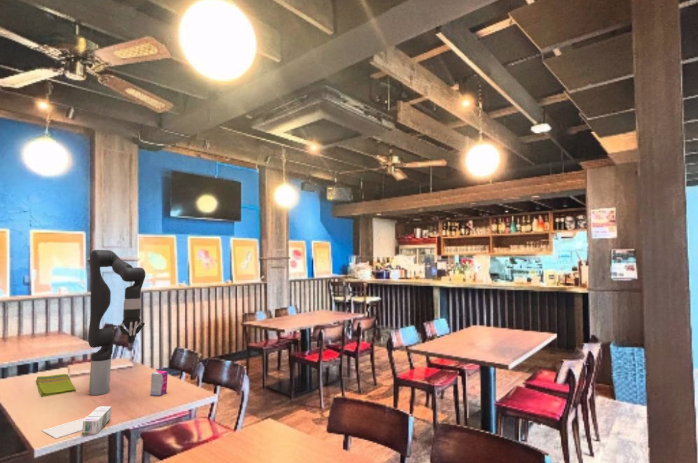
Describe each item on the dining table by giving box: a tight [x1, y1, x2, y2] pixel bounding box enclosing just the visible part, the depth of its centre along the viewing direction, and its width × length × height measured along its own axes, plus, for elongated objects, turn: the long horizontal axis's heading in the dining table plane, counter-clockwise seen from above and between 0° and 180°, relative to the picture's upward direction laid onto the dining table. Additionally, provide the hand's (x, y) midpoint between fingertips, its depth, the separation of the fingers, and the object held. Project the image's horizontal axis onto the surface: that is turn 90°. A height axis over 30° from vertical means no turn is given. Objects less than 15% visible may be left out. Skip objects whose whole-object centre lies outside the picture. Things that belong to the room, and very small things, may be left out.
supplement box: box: [149, 370, 169, 397], centre depth 212 cm, size 6×6×12 cm
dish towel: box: [35, 373, 77, 398], centre depth 225 cm, size 15×36×3 cm, turn 41°
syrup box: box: [81, 406, 112, 435], centre depth 170 cm, size 6×6×14 cm
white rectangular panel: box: [41, 417, 86, 440], centre depth 170 cm, size 13×18×1 cm
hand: (130, 343), depth 201 cm, fingers closed
